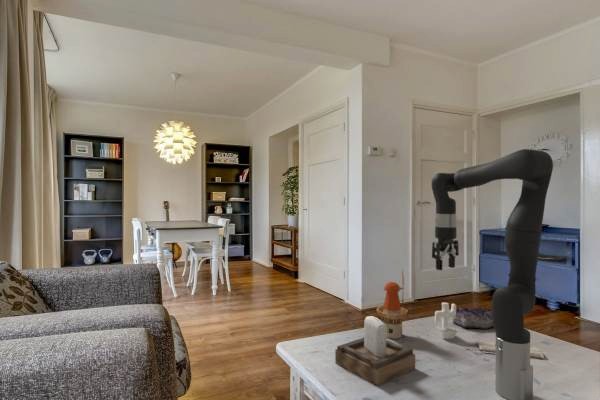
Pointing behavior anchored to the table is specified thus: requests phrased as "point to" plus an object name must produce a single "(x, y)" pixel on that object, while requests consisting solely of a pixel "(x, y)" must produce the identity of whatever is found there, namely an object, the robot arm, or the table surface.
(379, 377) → the walnut plinth
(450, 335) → the figurine
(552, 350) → the table surface
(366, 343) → the photo printer
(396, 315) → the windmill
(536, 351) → the newspaper
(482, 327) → the geode
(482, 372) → the table surface
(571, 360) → the table surface
